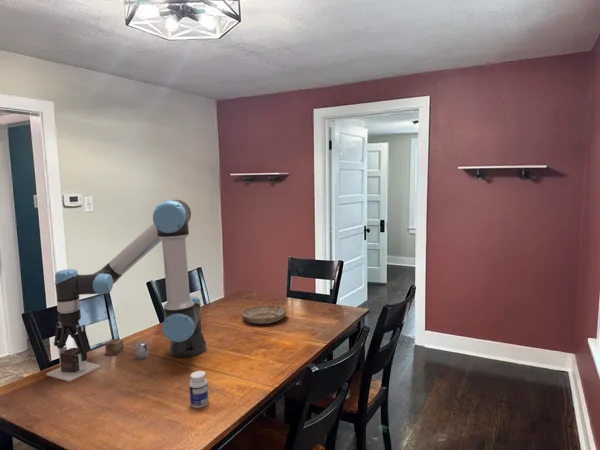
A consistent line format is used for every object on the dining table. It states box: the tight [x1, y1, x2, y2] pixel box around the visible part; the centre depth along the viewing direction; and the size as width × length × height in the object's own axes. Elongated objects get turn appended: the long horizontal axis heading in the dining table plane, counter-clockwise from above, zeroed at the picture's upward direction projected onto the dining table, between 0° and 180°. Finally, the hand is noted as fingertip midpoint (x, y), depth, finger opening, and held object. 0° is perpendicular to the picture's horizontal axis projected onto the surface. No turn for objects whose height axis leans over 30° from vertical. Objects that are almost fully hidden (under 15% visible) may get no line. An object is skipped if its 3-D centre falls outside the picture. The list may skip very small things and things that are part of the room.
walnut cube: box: [104, 338, 125, 356], centre depth 175 cm, size 5×5×5 cm
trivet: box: [46, 361, 101, 382], centre depth 158 cm, size 13×13×1 cm
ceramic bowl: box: [241, 304, 287, 325], centre depth 213 cm, size 23×24×5 cm
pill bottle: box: [188, 370, 210, 409], centre depth 131 cm, size 6×6×10 cm
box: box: [59, 347, 79, 373], centre depth 157 cm, size 6×6×7 cm
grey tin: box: [135, 340, 149, 361], centre depth 169 cm, size 4×4×6 cm
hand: (73, 366), depth 158 cm, fingers open, 10 cm apart
